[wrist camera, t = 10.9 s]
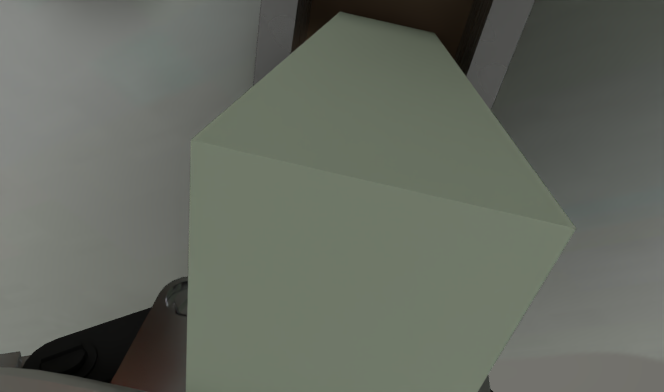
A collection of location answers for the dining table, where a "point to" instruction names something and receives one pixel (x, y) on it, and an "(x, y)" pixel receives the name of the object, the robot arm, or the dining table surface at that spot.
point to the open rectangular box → (411, 11)
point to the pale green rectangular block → (361, 224)
